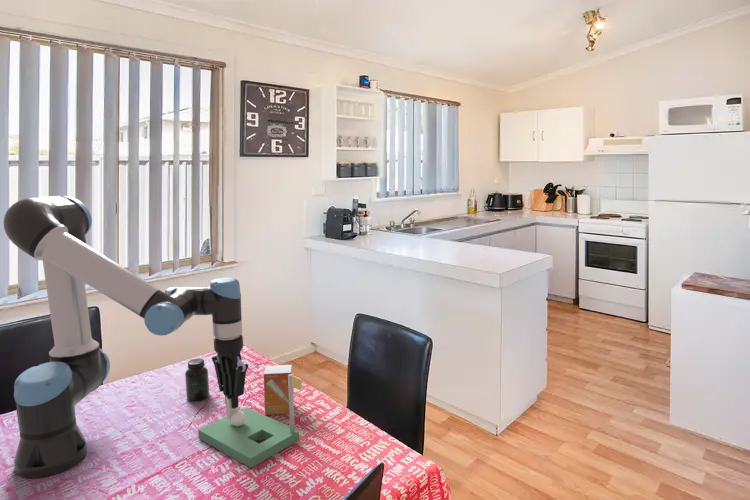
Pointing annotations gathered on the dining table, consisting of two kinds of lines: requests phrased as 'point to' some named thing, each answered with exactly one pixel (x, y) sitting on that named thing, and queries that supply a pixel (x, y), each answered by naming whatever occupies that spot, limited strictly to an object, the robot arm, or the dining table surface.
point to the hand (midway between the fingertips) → (232, 417)
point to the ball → (238, 418)
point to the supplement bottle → (197, 380)
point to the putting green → (253, 433)
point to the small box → (276, 389)
